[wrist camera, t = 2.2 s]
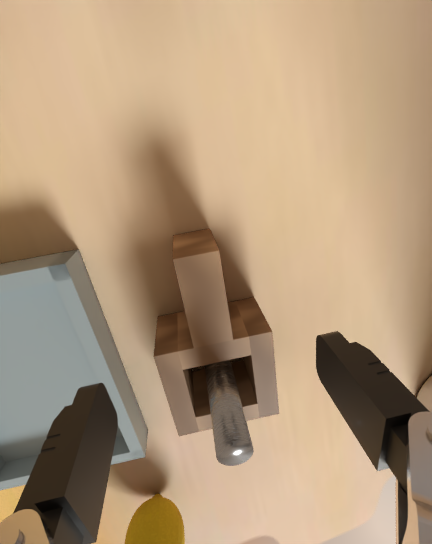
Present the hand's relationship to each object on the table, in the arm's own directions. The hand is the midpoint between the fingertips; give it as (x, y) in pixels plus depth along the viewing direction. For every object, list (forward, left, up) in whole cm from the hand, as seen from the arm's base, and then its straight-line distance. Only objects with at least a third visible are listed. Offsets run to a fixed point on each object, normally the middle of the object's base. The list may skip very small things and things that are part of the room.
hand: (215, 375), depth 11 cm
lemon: (+9, +25, -11) cm, 29 cm away
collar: (0, +4, -11) cm, 11 cm away
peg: (0, +7, -11) cm, 13 cm away
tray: (+14, +6, -11) cm, 18 cm away
